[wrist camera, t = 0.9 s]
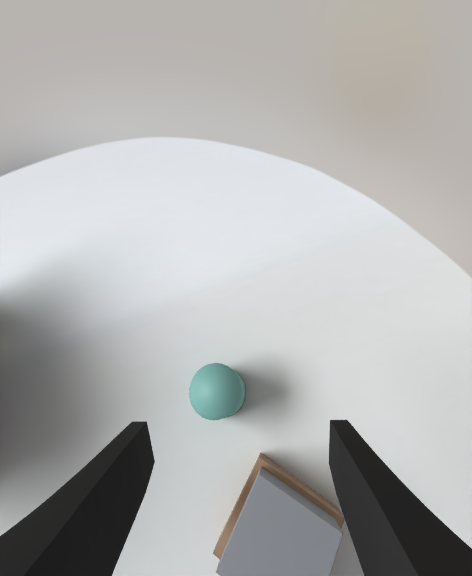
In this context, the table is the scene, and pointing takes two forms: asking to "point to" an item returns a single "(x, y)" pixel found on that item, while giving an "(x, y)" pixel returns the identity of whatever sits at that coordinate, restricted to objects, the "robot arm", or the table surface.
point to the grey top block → (280, 534)
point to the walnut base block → (288, 480)
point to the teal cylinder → (217, 391)
